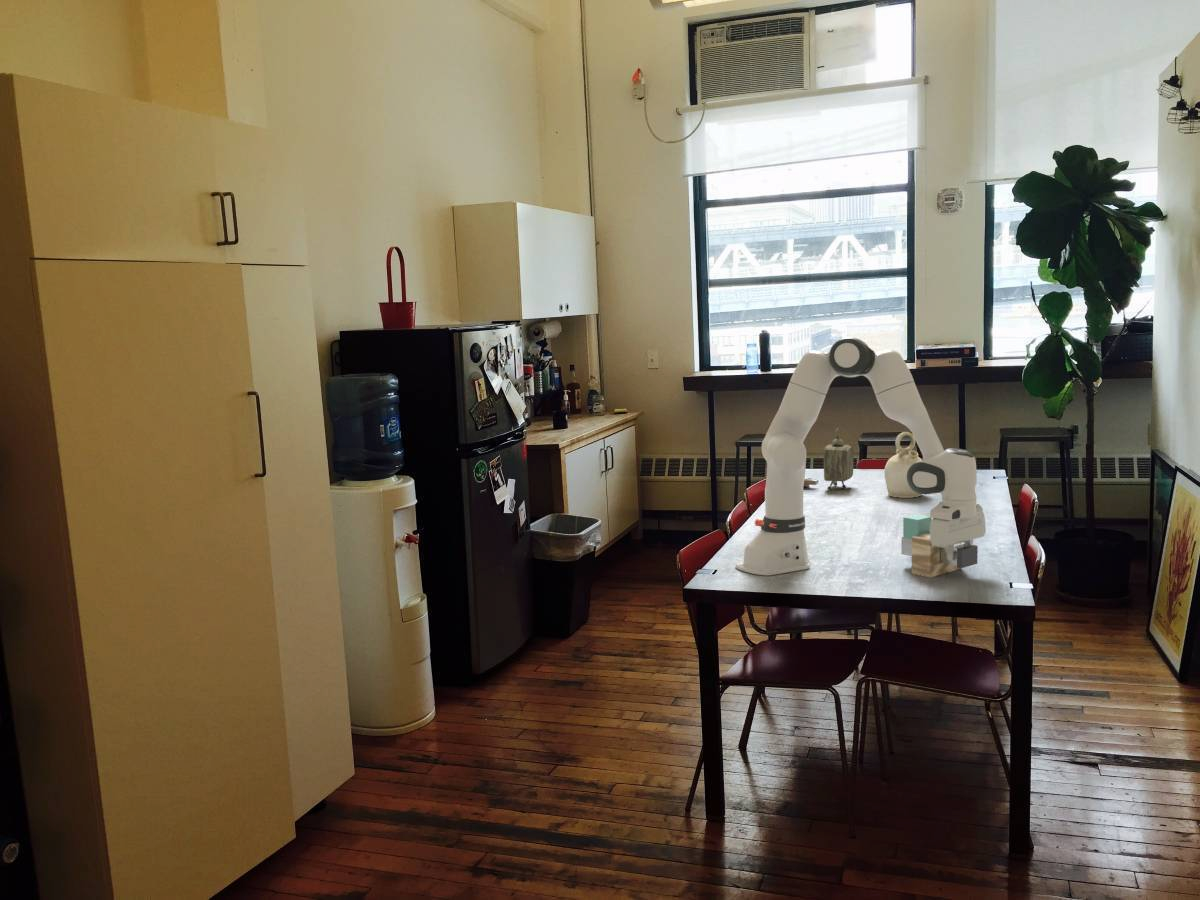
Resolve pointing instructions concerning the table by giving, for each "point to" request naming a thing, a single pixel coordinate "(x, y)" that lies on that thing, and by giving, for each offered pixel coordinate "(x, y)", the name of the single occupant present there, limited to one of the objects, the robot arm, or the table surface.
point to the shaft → (964, 553)
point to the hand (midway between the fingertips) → (958, 557)
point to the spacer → (916, 525)
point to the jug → (901, 469)
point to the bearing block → (927, 558)
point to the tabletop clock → (838, 462)
